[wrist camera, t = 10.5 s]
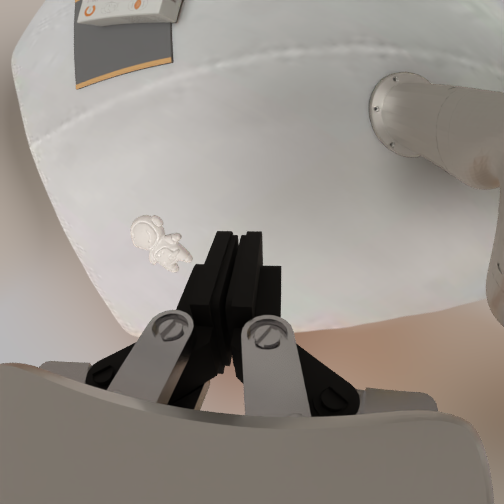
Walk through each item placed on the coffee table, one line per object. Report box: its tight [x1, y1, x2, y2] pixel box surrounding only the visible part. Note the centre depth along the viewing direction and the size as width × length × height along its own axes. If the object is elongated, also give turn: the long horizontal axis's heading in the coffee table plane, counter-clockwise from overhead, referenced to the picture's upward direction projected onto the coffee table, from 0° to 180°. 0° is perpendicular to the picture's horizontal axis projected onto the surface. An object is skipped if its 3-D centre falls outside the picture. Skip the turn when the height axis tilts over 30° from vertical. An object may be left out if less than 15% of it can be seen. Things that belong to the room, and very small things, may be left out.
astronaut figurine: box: [130, 215, 192, 273], centre depth 45 cm, size 9×12×3 cm
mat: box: [74, 0, 173, 89], centre depth 25 cm, size 17×18×1 cm
